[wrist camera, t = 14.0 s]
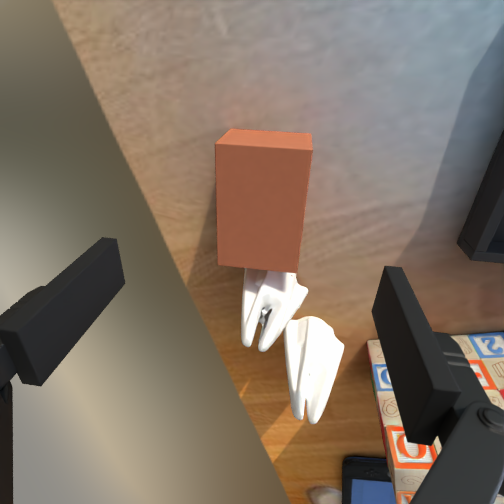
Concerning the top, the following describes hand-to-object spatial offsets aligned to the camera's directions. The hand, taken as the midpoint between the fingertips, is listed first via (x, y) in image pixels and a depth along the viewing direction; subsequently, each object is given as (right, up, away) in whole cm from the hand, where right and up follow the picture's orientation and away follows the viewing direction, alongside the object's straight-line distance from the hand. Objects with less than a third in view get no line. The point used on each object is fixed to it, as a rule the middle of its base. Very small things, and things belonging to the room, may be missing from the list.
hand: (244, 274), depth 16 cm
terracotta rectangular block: (+2, +6, +10) cm, 12 cm away
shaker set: (+5, -4, +16) cm, 17 cm away
